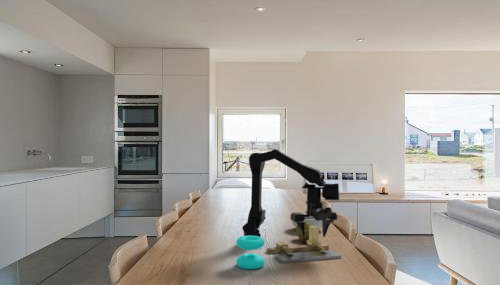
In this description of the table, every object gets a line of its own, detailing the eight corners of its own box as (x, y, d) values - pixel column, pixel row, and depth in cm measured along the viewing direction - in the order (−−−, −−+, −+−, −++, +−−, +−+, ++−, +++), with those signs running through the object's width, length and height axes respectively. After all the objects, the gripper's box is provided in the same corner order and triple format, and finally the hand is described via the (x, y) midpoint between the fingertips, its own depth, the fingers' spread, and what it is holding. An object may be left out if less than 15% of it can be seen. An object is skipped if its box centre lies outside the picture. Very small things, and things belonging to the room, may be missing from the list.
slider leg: (319, 252, 147) (319, 232, 147) (306, 244, 159) (306, 225, 159) (328, 252, 148) (328, 231, 148) (315, 244, 160) (315, 225, 160)
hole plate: (282, 263, 139) (282, 260, 139) (275, 256, 146) (275, 253, 146) (341, 258, 145) (341, 255, 145) (331, 252, 153) (331, 249, 153)
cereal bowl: (324, 234, 183) (324, 219, 183) (289, 233, 186) (289, 218, 186) (324, 227, 200) (324, 213, 200) (292, 225, 203) (292, 212, 203)
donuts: (236, 241, 131) (236, 234, 141) (236, 270, 130) (236, 261, 140) (265, 241, 131) (263, 234, 141) (265, 270, 131) (263, 261, 141)
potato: (295, 244, 165) (295, 225, 165) (296, 237, 178) (296, 220, 178) (315, 244, 164) (315, 226, 164) (314, 237, 177) (314, 220, 177)
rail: (275, 259, 143) (275, 250, 143) (266, 251, 154) (266, 243, 154) (338, 254, 149) (338, 246, 150) (324, 246, 161) (324, 239, 161)
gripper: (300, 203, 147) (300, 243, 147) (343, 201, 152) (343, 240, 152) (290, 199, 158) (290, 236, 158) (331, 197, 163) (330, 234, 163)
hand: (313, 237), depth 157 cm, fingers open, 9 cm apart
